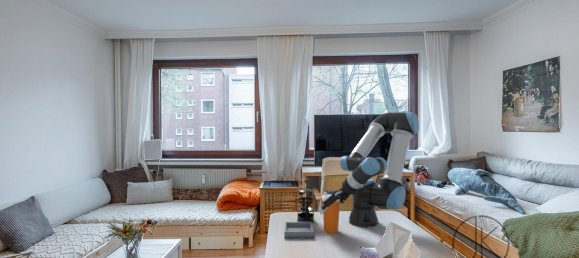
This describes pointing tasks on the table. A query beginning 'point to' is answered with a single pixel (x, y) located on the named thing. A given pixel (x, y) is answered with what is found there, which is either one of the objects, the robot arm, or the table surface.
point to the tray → (298, 230)
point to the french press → (305, 205)
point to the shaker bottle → (331, 214)
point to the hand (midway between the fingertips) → (325, 210)
